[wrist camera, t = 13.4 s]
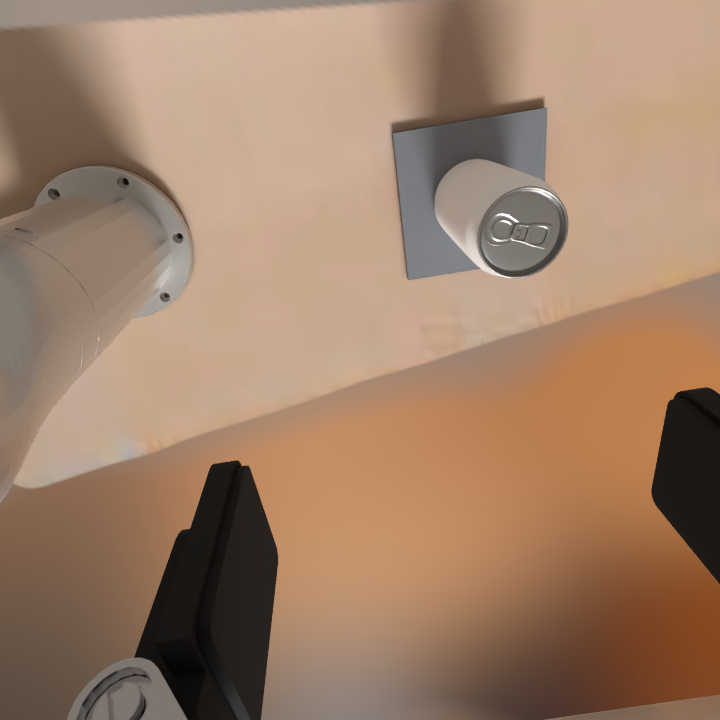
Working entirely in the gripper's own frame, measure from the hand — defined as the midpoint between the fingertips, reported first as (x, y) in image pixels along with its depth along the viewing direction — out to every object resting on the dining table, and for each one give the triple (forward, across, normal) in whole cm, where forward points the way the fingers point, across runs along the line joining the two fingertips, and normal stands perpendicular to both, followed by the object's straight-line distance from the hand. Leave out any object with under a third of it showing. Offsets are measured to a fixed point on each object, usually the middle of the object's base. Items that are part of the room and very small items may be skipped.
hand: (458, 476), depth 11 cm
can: (+33, -9, +1) cm, 34 cm away
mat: (+33, -9, +1) cm, 35 cm away
